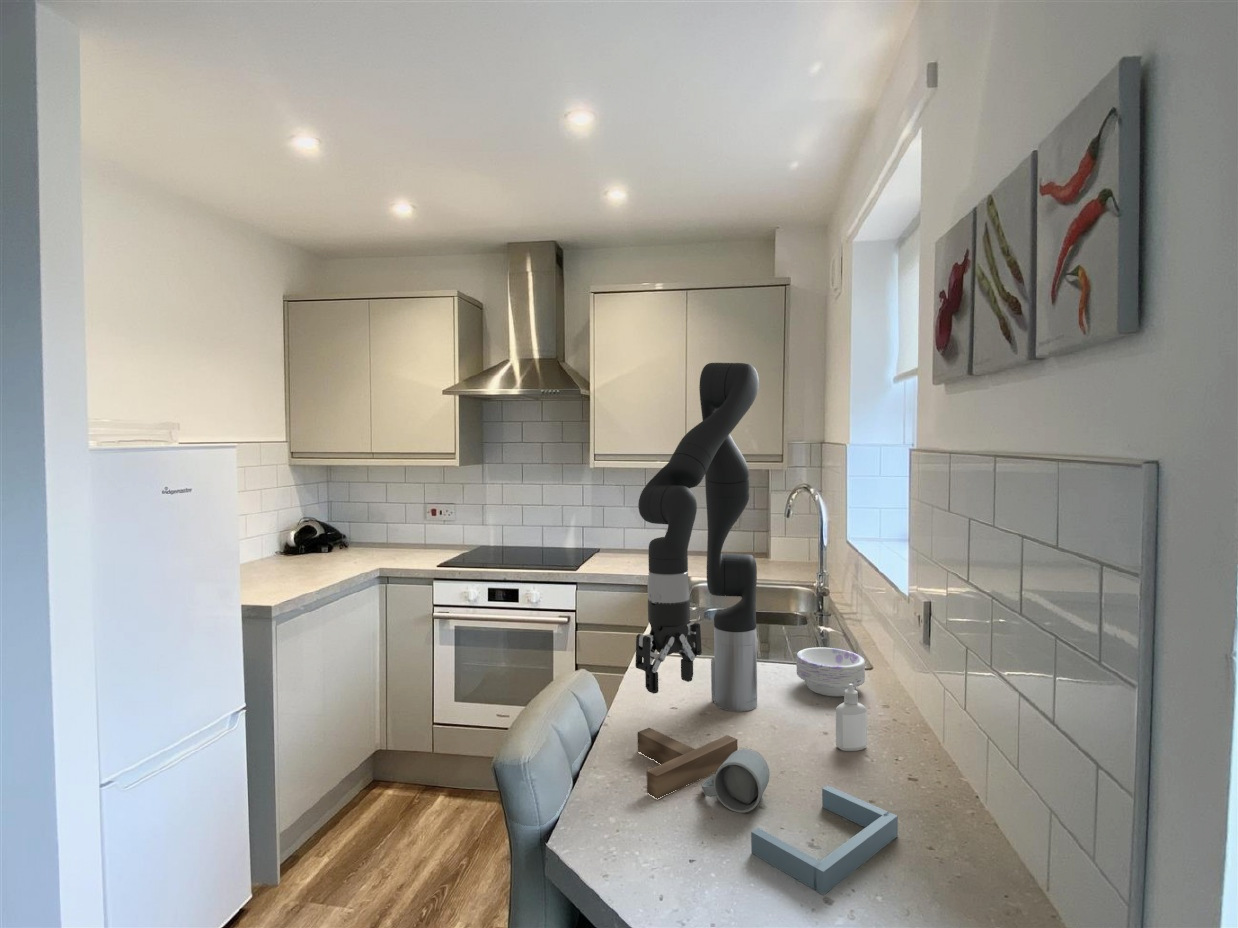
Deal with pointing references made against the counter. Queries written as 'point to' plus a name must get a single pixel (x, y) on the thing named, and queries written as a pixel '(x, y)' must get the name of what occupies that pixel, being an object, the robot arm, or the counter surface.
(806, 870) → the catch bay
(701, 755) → the scraper
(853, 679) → the paper bowls
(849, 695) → the eye dropper bottle
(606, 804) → the counter surface
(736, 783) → the ceramic mug
